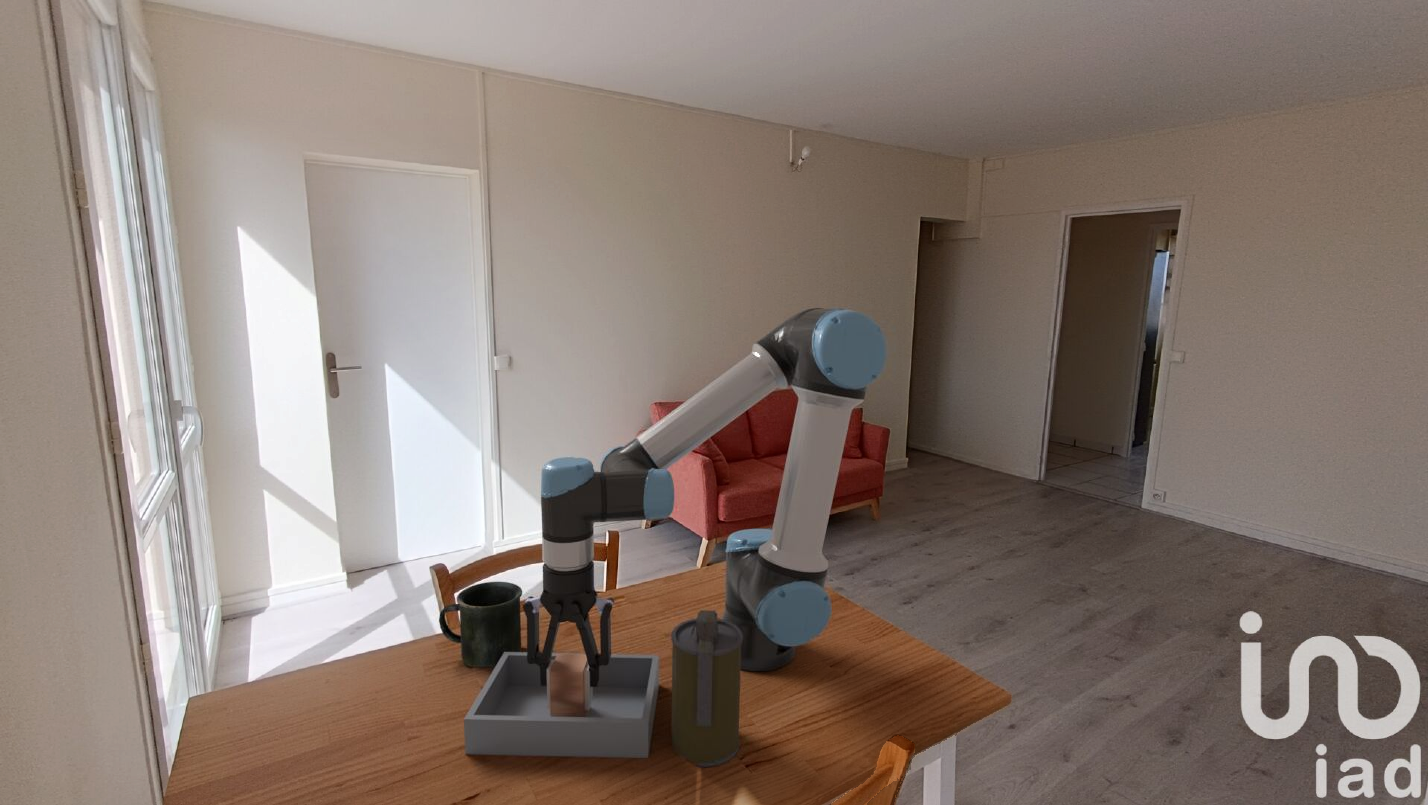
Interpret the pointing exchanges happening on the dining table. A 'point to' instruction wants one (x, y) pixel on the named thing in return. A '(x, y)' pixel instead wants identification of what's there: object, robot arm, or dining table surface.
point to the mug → (486, 622)
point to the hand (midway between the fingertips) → (570, 703)
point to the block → (568, 686)
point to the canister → (706, 689)
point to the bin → (523, 726)
